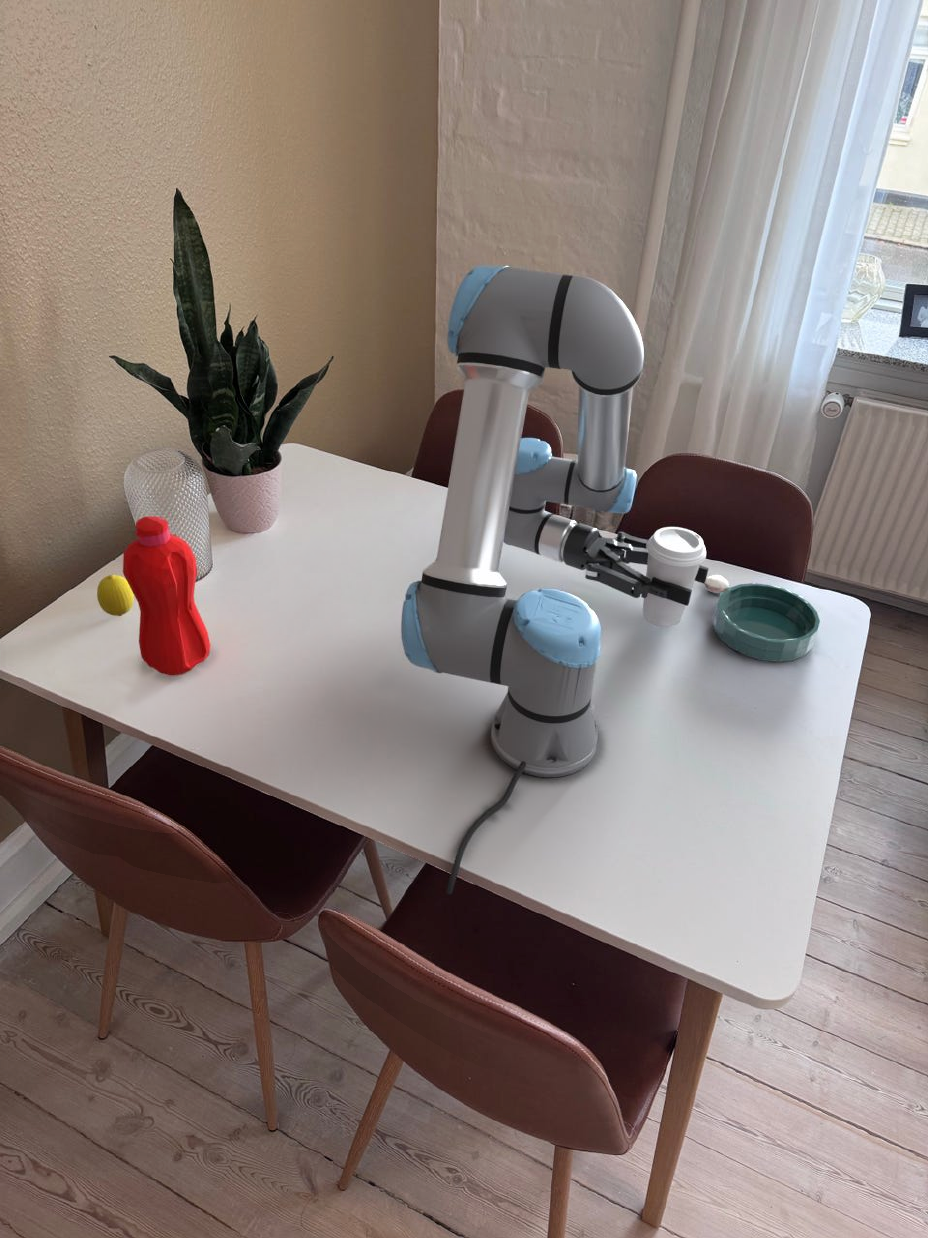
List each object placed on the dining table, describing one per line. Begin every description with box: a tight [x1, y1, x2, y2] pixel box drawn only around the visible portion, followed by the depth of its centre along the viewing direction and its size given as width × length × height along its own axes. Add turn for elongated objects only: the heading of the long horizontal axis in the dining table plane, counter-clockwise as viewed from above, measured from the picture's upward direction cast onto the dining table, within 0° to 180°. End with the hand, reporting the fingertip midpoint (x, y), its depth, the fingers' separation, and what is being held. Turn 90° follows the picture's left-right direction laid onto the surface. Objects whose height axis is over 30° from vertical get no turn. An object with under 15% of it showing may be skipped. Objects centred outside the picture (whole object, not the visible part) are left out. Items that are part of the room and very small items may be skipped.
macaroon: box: [703, 574, 730, 594], centre depth 166 cm, size 4×5×2 cm
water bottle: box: [122, 515, 211, 677], centre depth 139 cm, size 9×11×25 cm
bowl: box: [712, 582, 821, 662], centre depth 155 cm, size 16×16×4 cm
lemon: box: [96, 574, 135, 617], centre depth 151 cm, size 6×6×8 cm
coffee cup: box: [641, 526, 707, 628], centre depth 152 cm, size 10×10×15 cm
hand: (697, 586), depth 150 cm, fingers closed on coffee cup, 7 cm apart
